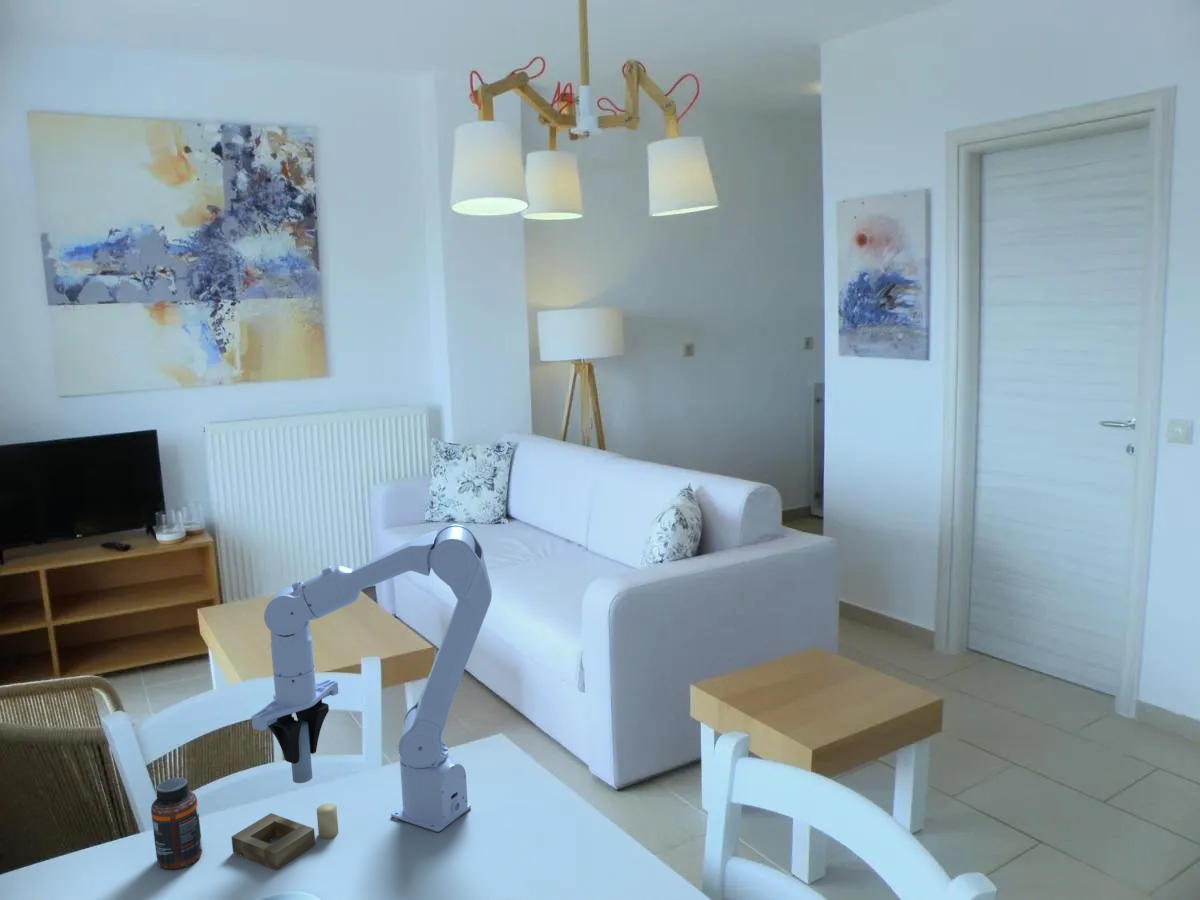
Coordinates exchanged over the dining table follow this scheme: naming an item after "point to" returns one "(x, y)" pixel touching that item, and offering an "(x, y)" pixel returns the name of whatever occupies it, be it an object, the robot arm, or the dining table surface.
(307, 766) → the long dowel
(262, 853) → the block with square hole
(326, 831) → the short dowel
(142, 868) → the dining table surface
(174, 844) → the supplement bottle
